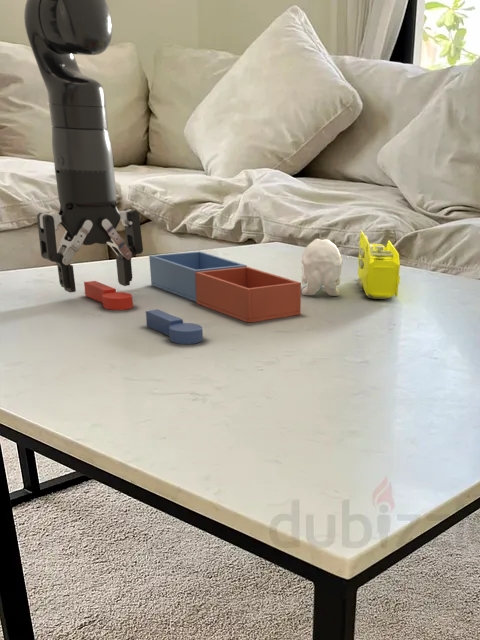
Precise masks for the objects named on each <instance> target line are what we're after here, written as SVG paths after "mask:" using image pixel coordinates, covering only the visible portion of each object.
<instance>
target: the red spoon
mask: <svg viewBox="0 0 480 640" xmlns="http://www.w3.org/2000/svg"><path fill="white" fill-rule="evenodd" d="M83 286H84V287H83V288H84V294H85V297H87V298H90V299H92V300H95V301H97V302H98V303H101V304H102V307H103V308H104V309H106V310H110V311H125V310H130V309H132V308H134V300H133V295H132V293H130V292H129V293H128V292H125V291H124V292H122V291H117V290H116V288H115V287H112V286H109V285H107V284H104V283H102V282H99V281H97V280H90V281H84V282H83Z"/></svg>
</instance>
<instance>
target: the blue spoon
mask: <svg viewBox="0 0 480 640" xmlns="http://www.w3.org/2000/svg"><path fill="white" fill-rule="evenodd" d="M145 317H146V326H147V327H148V328H151V329H152V330H155V331H157V332H159V333H162V334H165V335H166V336H168V337H169V341H170V342H172V343H175V344H179V345H195V344H199V343H201V342H203V340H204V333H203V330H204V329H203V326H202V325H200V324H198V323H192V322H184V319H183V318H180V317H178V316H176V315H173V314H170V313H168V312H166V311H163V310H160V309H150V310H145Z"/></svg>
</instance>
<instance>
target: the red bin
mask: <svg viewBox="0 0 480 640" xmlns="http://www.w3.org/2000/svg"><path fill="white" fill-rule="evenodd" d="M195 277H196V298H197V302H196V304H197V305H199V306H203V307H205V308H208V309H211V310H212V311H216V312H218V313H221V314H224V315H227V316H228V317H232V318H234V319H237V320H240V321H243V322H245V323H248V324H249V323H257V322H262V321H268V320H275V319H280V318H286V317H293V316H299V315H301V313H302V312H301V311H302V309H301V307H302V306H301V305H302V282H301V281H295V280H294V279H290V278H288V277H287V278H286V277H284V276H280V275H276V274H274V273H271V272H267V271H263V270H260V269H257V268H254V267H250V266H247V267H239V268H230V269H220V270H211V271H201V272H195Z"/></svg>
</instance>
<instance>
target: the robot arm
mask: <svg viewBox="0 0 480 640" xmlns="http://www.w3.org/2000/svg"><path fill="white" fill-rule="evenodd" d="M23 11H24V13H23V20H24V27H25V34H26V36H27V40H28V43H29V45H30V48H31V51H32V53H33V56H34V59H35V61H36V64H37V67H38V71H39V73H40V76H41V78H42V81H43V83H44V86H45V90H46V92H47V100H48V108H49V115H50V124H51V146H52V147H51V148H52V149H51V150H52V156H53V165H54V173H55V179H56V180H55V181H56V187H57V188H56V189H57V196H58V201H59V206H60V207H59V212H58V213H45V212H39V213H38V214H37V215H36V221H37V230H38V239H39V249H40V255H41V258H42V259H46V260H47V261H50V262H53V263H55V264H56V266H57V273H58V280H59V281H58V282H59V284H60V287H61V288H62V289H64V291H65V292H68V293H76V292H77V290H76V289H77V288H76V281H75V280H76V279H75V273H74V265H73V264H71V262H72V261H73V259H74V257H75V255H76V254H77V253H78V252H79V251H80V250H81V247H82V245H83V246H91V245H95V244H99V245H106V244H107V245H108V246H109V247H110V248H111V249H112V251H113V252H114V253H115V254H116V256H117V257H116V258H115V262H116V272H117V282H118V284H119V285H120V286H123V287H128V286H130V285H131V282H132V280H133V268H132V258H133V257H134V256H136V255H141V254H142V253H143V251H144V246H143V239H142V228H141V220H140V213H139V211H137V210H134V209H131V208H127V207H126V208H124V209H123V210H118V208H117V199H118V198H117V188H116V178H115V177H116V176H115V167H114V164H115V161H114V157H113V148H112V143H111V138H110V133H109V132H110V131H109V124H108V113H107V112H108V111H107V104H106V103H107V102H106V94H105V91H104V87H103V85H102V84H101V82H99V81H98V80H97V79H95V78H92V77H89V76H87V75H85V74H83V73H82V72H81V69H80V67H79V65H78V61H77V60H76V57H75V55H78V56H79V55H81V56H98V55H101V54H103V53H104V52H105V51H107V49H108V48H109V46H110V44H111V40H112V37H113V36H112V35H113V20H112V15H111V11H110V7H109V5H108V2H107V0H26V1H25V5H24V10H23ZM120 222H121V224H122V225H123V226H124V232H125V240H124V239H123V238H122V236H121V235H120V234H119V232H118V231H117V228H118V225H119V224H120ZM59 225H61V226H62V227H63V228H64V230H65V231H64V234H63V235H62V237H61V239H60V241H59V247H58V249H57V237H56V232H57V231H58V229H59ZM125 241H126V243H125Z"/></svg>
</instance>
